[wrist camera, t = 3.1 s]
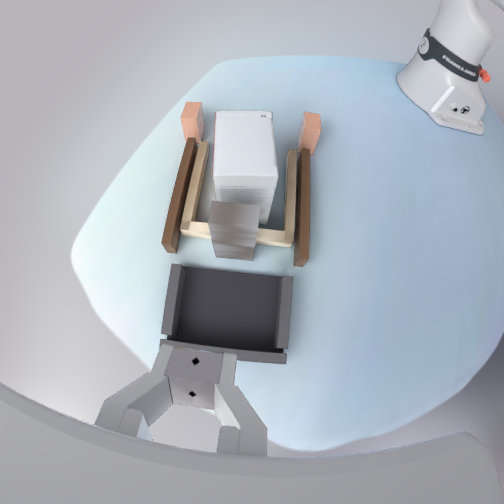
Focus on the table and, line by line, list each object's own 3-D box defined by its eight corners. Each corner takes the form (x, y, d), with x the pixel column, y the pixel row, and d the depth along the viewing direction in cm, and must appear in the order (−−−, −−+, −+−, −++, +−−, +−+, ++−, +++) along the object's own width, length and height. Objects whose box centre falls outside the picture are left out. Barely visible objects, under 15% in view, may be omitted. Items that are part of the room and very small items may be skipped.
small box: (219, 168, 35) (214, 108, 25) (264, 168, 36) (272, 108, 26) (218, 226, 33) (210, 175, 23) (267, 226, 33) (279, 175, 23)
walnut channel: (305, 162, 36) (309, 148, 33) (302, 266, 32) (308, 258, 29) (190, 151, 36) (187, 137, 33) (167, 252, 32) (161, 243, 29)
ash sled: (294, 159, 36) (307, 111, 27) (289, 264, 31) (308, 233, 23) (201, 150, 36) (194, 101, 27) (180, 253, 31) (160, 218, 23)
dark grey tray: (288, 278, 31) (293, 271, 28) (281, 362, 28) (286, 364, 26) (178, 266, 31) (172, 258, 28) (166, 348, 28) (159, 349, 25)
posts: (312, 138, 38) (320, 114, 33) (312, 155, 37) (321, 131, 32) (190, 127, 38) (186, 101, 33) (186, 142, 37) (180, 117, 32)
